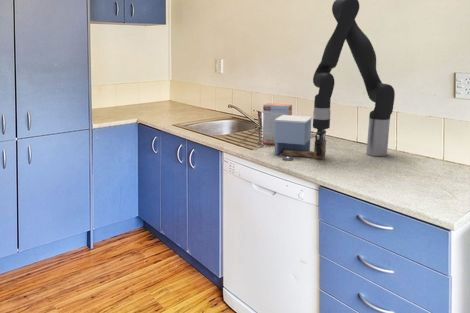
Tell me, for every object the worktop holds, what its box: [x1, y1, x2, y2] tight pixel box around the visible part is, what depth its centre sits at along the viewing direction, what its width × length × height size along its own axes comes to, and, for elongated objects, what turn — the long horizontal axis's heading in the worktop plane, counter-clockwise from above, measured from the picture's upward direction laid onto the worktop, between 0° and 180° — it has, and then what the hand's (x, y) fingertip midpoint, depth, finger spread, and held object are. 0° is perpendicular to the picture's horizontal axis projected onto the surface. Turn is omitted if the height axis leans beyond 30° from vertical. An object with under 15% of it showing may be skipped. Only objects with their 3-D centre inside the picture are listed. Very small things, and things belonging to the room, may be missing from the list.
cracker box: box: [262, 102, 293, 146], centre depth 223 cm, size 14×6×21 cm, turn 59°
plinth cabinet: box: [274, 114, 313, 156], centre depth 206 cm, size 15×15×17 cm
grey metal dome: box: [281, 155, 294, 162], centre depth 195 cm, size 5×5×2 cm
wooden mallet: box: [282, 139, 327, 160], centre depth 199 cm, size 19×4×8 cm, turn 69°
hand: (319, 154), depth 197 cm, fingers closed on wooden mallet, 4 cm apart
